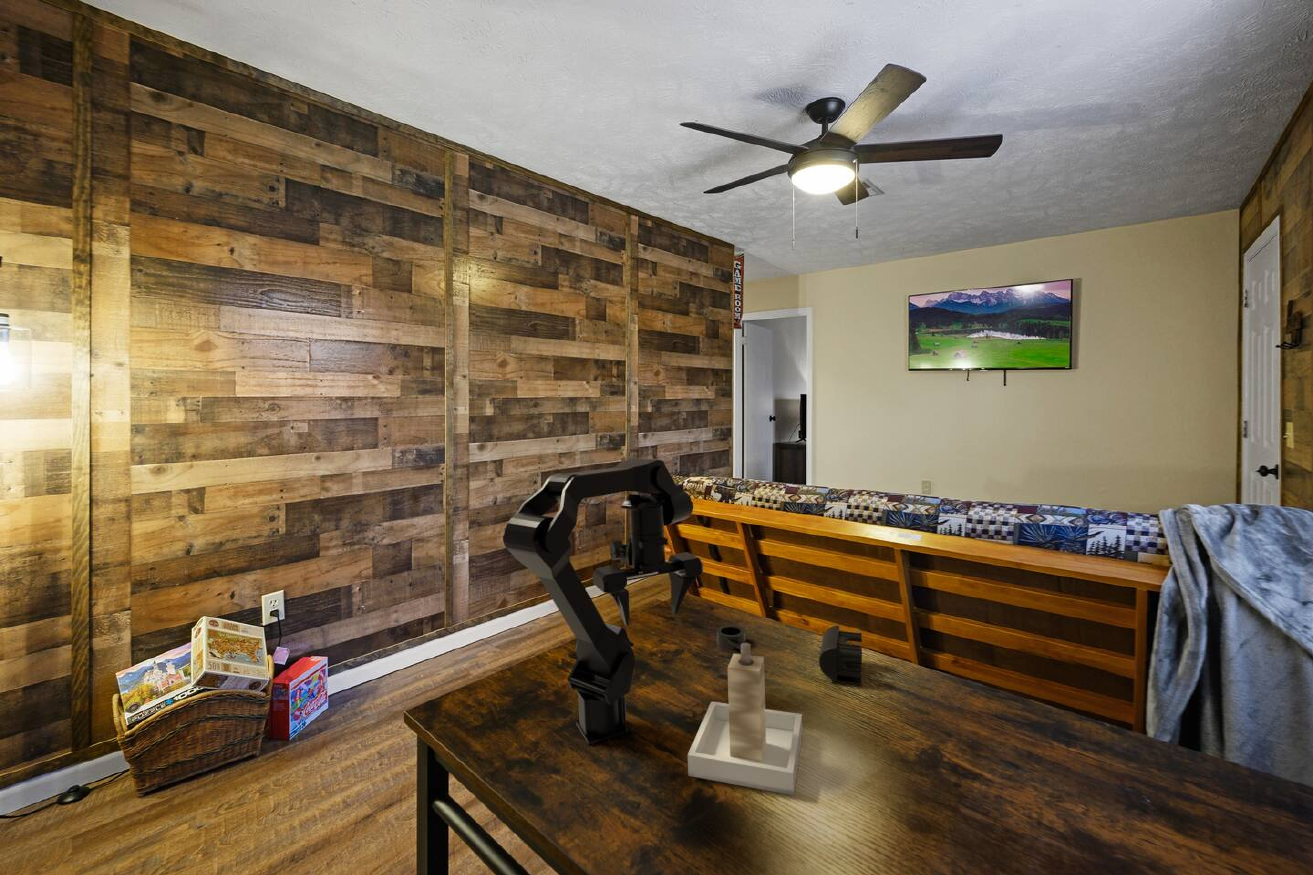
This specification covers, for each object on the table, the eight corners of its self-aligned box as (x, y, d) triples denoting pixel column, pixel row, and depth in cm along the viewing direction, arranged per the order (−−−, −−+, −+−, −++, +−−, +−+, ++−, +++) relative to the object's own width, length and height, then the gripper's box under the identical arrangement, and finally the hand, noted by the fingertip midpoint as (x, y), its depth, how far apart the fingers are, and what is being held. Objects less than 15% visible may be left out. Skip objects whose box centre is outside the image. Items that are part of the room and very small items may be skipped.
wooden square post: (730, 755, 81) (727, 649, 80) (736, 737, 85) (733, 636, 84) (761, 761, 79) (758, 653, 78) (766, 742, 84) (763, 640, 82)
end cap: (823, 657, 111) (822, 623, 110) (862, 662, 108) (861, 627, 108) (818, 682, 102) (818, 645, 101) (861, 688, 99) (860, 650, 99)
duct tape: (708, 654, 115) (708, 639, 114) (716, 633, 124) (715, 620, 124) (747, 656, 113) (747, 642, 112) (752, 635, 122) (751, 622, 122)
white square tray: (688, 775, 78) (687, 754, 78) (711, 719, 91) (711, 701, 91) (793, 795, 73) (792, 773, 73) (802, 733, 87) (801, 714, 86)
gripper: (673, 516, 109) (676, 595, 111) (580, 529, 101) (584, 615, 102) (703, 527, 99) (706, 614, 101) (602, 543, 91) (607, 637, 93)
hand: (650, 619), depth 99 cm, fingers open, 9 cm apart
